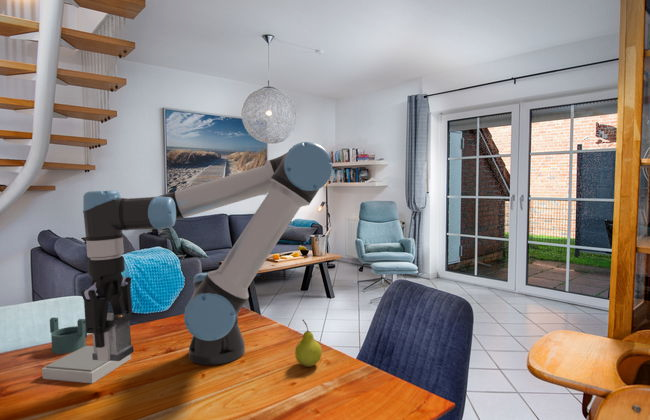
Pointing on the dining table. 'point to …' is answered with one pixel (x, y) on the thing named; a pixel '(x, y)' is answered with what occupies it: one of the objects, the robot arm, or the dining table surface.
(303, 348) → the fruit
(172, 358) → the dining table surface
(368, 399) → the dining table surface
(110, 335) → the housing
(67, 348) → the bracket
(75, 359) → the stand
